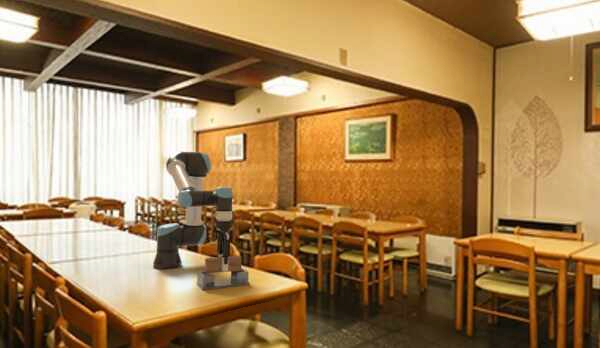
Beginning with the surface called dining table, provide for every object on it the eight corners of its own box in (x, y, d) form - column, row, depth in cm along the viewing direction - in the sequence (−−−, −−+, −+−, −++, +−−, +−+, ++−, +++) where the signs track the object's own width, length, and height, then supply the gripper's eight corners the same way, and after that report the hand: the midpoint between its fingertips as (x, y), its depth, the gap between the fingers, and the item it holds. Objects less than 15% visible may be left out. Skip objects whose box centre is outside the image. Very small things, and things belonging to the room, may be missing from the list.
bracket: (196, 284, 186) (196, 271, 186) (241, 279, 196) (241, 267, 196) (202, 290, 176) (202, 276, 176) (249, 284, 187) (249, 271, 187)
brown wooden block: (204, 270, 186) (205, 257, 186) (238, 268, 192) (238, 255, 192) (206, 273, 181) (207, 260, 181) (241, 270, 187) (241, 257, 187)
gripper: (210, 218, 193) (210, 266, 193) (221, 222, 177) (221, 274, 176) (225, 217, 196) (225, 264, 196) (237, 221, 180) (237, 273, 180)
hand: (223, 269), depth 186 cm, fingers closed on brown wooden block, 5 cm apart
